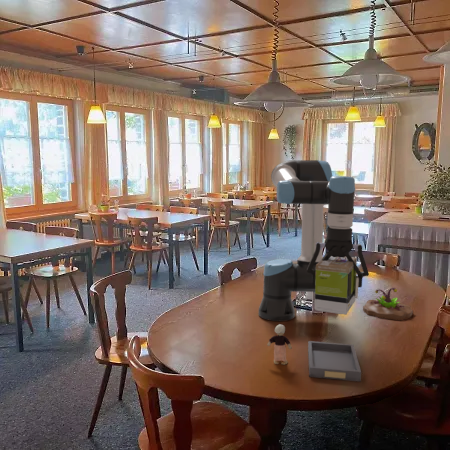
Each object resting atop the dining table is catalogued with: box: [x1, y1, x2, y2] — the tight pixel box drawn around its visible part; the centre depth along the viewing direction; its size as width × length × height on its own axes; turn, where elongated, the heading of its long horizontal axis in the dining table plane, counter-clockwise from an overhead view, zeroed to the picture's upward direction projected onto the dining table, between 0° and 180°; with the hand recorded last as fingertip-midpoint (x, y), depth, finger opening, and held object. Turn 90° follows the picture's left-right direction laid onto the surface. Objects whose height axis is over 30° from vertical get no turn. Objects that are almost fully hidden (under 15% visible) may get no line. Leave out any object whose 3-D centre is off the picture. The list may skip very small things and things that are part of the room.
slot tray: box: [307, 340, 362, 382], centre depth 143 cm, size 15×20×3 cm
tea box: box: [314, 256, 358, 316], centre depth 139 cm, size 15×10×15 cm, turn 154°
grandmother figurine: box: [266, 323, 293, 366], centre depth 143 cm, size 8×4×13 cm, turn 88°
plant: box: [362, 287, 413, 321], centre depth 193 cm, size 20×20×11 cm
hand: (336, 296), depth 140 cm, fingers closed on tea box, 11 cm apart
